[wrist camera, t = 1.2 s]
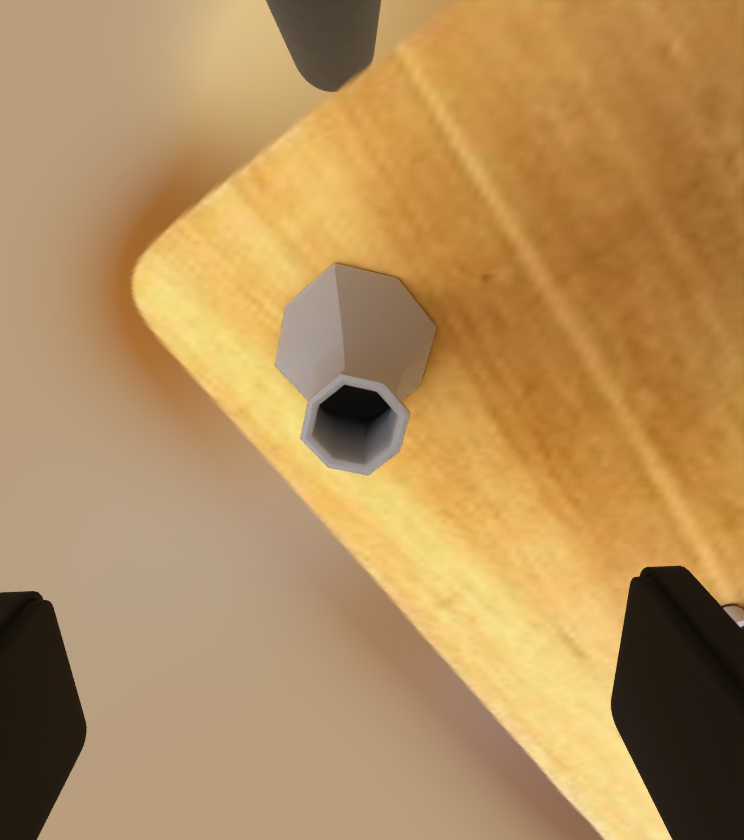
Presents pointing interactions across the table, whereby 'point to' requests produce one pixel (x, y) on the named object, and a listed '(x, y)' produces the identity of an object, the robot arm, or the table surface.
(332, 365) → the flask
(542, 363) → the table surface
